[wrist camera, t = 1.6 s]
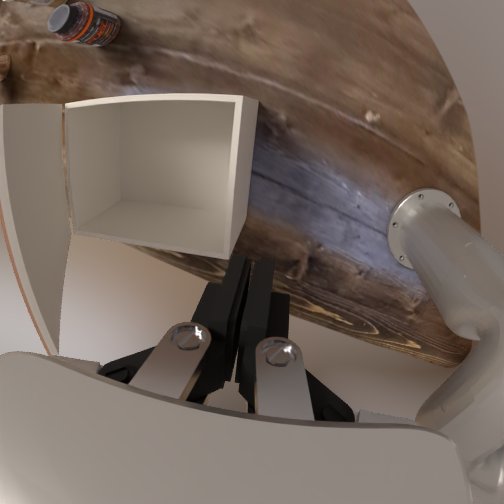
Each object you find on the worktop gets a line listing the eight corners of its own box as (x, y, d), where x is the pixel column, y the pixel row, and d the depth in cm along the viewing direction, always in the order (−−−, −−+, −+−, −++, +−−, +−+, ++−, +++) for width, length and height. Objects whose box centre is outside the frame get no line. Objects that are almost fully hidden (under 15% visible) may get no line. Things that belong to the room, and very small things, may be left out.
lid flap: (3, 104, 8) (-11, 108, 8) (58, 354, 16) (48, 356, 15) (62, 104, 23) (55, 105, 23) (71, 234, 31) (65, 235, 30)
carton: (258, 101, 33) (243, 95, 22) (246, 217, 40) (228, 259, 30) (120, 99, 34) (65, 103, 23) (120, 202, 42) (74, 233, 31)
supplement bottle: (108, 52, 30) (57, 45, 21) (85, 40, 29) (35, 34, 19) (129, 19, 28) (82, 2, 18) (105, 9, 27) (58, -6, 17)
